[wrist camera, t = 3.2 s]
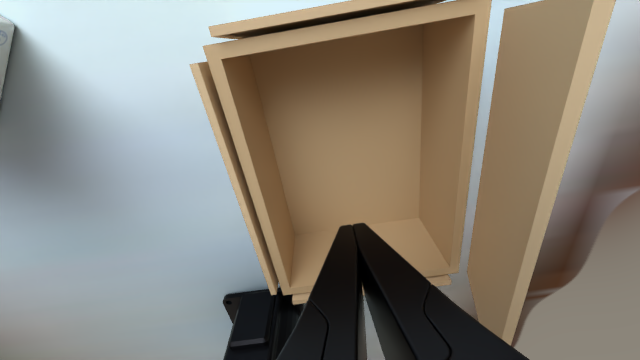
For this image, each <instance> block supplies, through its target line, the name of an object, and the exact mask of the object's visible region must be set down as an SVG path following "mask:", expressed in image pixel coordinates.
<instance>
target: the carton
mask: <svg viewBox="0 0 640 360" xmlns="http://www.w3.org/2000/svg"><path fill="white" fill-rule="evenodd" d="M443 1H446V0H351V1H346V2H340V3H335V4H329V5H324V6H318V7H313V8H308V9H302V10H297V11H291V12H286V13H280V14H275V15H269V16H264V17H258V18H253V19H248V20H242V21H237V22H231V23H226V24H220V25H215V26H209V30H210V34H211V37H218V38H229V39H239V40H233V41H228V42H222V43H217V44H211V45H206V46H203V49H204V52H205V55H206V58H207V61H208V62H202V63H195V64H190V68H191V70H192V73H193V76H194V79H195V82H196V84H197V87H198V90H199V93H200V96H201V99H202V101H203V104H204V107H205V110H206V113H207V115H208V118H209V121H210V124H211V127H212V130H213V132H214V135H215V138H216V141H217V144H218V146H219V149H220V152H221V155H222V158H223V161H224V163H225V166H226V169H227V172H228V175H229V177H230V180H231V183H232V186H233V189H234V192H235V194H236V197H237V200H238V203H239V206H240V209H241V211H242V214H243V217H244V220H245V223H246V225H247V228H248V231H249V234H250V237H251V240H252V242H253V245H254V248H255V251H256V254H257V256H258V259H259V262H260V265H261V268H262V271H263V273H264V276H265V279H266V282H267V285H268V287H269V290H270V293H271V295H276V294H277V288H278V281H279V284H280V287H281V290H282V293H283V295H291V294H293V297H292V302H293V305H294V304H302V303H306V302H307V301H308V298H309V295H310V293H311V291H312V288H313V286H314V284H315V282H316V279H317V277H318V275H319V273H320V270H321V268H322V266H323V263H324V261H325V259H326V257H327V254H328V252H329V250H330V247H331V245H332V243H333V241H334V238H335V236H336V234H337V231H338V229H339V227H340V226H342V225H349V224H351V225H353V224H356V223H365V224H366V225H368V226H369V227H370V228H371V229H372V230H373V231H374V232H375V233H376V234H378V235H379V236H380V237H381V238H382V239H383V240H384V241H385V242H386V243H388V244H389V245H390V246H391V247H392V248H393V249H394V250H395V251H396V252H398V253H399V254H400V255H401V256H402V257H403V258H404V259H405V260H406V261H408V262H409V263H410V264H411V265H412V266H413V267H414V268H415V269H416V270H418V271H419V272H420V273H421V274H422V275H423V276H424V277H425V278H426V279H428V280H429V281H430V282H431V284H433V285H434V286H443V285H451V279H450V277H449V276H448V274H453V273H458V271H459V263H460V255H461V247H462V238H463V230H464V222H465V214H466V206H467V198H468V189H469V181H470V173H471V165H472V157H473V149H474V140H475V132H476V124H477V116H478V108H479V100H480V91H481V83H482V75H483V67H484V59H485V51H486V42H487V34H488V26H489V18H490V10H491V2H492V0H456V1H450V2H445V3H440V2H443ZM437 3H439V4H437ZM362 289H363V286H362ZM363 296H365V294H364V291H363Z"/></svg>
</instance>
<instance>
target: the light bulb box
mask: <svg viewBox="0 0 640 360" xmlns="http://www.w3.org/2000/svg"><path fill="white" fill-rule="evenodd" d="M13 33H14V24H13V23H12V22H10V21H9V20H7V19H6V18H4V17H2V16H1V15H0V100H1V94H2V89H3V84H4V79H5V74H6V69H7V63H8V58H9V53H10V48H11V43H12V38H13Z"/></svg>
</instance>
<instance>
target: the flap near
mask: <svg viewBox="0 0 640 360" xmlns="http://www.w3.org/2000/svg"><path fill="white" fill-rule="evenodd" d="M615 2H616V0H543V1H539V2H534V3H529V4H525V5H520V6H515V7H511V8H506V9H505V10H504V17H503V24H502V31H501V38H500V45H499V52H498V59H497V66H496V73H495V80H494V87H493V94H492V101H491V108H490V114H489V121H488V128H487V135H486V142H485V149H484V156H483V163H482V170H481V177H480V184H479V191H478V198H477V205H476V212H475V219H474V226H473V233H472V240H471V247H470V254H469V261H468V268H467V274H468V279H469V283H470V287H471V291H472V295H473V299H474V303H475V307H476V312H477V316H478V320H479V323H481V324H482V325H483V326H485V327H486V328H487V329H489V330H490V331H491V332H493V333H494V334H495V335H497V336H498V337H500V338H501V339H502V340H504V341H505V342H506V343H508V344H509V345H510V346H511V343H512V340H513V336H514V333H515V330H516V326H517V323H518V320H519V317H520V313H521V310H522V307H523V304H524V300H525V297H526V294H527V290H528V287H529V284H530V281H531V277H532V274H533V271H534V267H535V264H536V261H537V258H538V254H539V251H540V248H541V244H542V241H543V238H544V235H545V231H546V228H547V225H548V222H549V218H550V215H551V212H552V208H553V205H554V202H555V199H556V195H557V192H558V189H559V185H560V182H561V179H562V176H563V172H564V169H565V166H566V162H567V159H568V156H569V153H570V149H571V146H572V143H573V140H574V136H575V133H576V130H577V126H578V123H579V120H580V117H581V113H582V110H583V107H584V103H585V100H586V97H587V94H588V90H589V87H590V84H591V80H592V77H593V74H594V71H595V67H596V64H597V61H598V58H599V54H600V51H601V48H602V44H603V41H604V38H605V35H606V31H607V28H608V25H609V21H610V18H611V15H612V12H613V8H614V5H615Z"/></svg>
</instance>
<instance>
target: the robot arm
mask: <svg viewBox="0 0 640 360" xmlns="http://www.w3.org/2000/svg"><path fill="white" fill-rule="evenodd" d="M362 286H363V289H362ZM363 291H364V294H365V297H366V301H367V304H368V307H369V310H370V313H371V316H372V319H373V323H374V326H375V329H376V332H377V335H378V338H379V341H380V345H381V348H382V351H383V354H384V357H385V360H529V359H528V358H527V357H525V356H524V355H522V354H521V353H520V352H518V351H517V350H516V349H514V348H513V347H512V346H510V345H509V344H508V343H506V342H505V341H504V340H502V339H501V338H500V337H498V336H497V335H495V334H494V333H493V332H491V331H490V330H489V329H487V328H486V327H485V326H483V325H482V324H481V323H479V322H478V321H477V320H475V319H474V318H473V317H471V316H470V315H469V314H468V313H466V312H465V311H464V310H462V309H461V308H460V307H458V306H457V305H456V304H455V303H454V302H453V301H451V300H450V299H449V298H448V297H447V296H446V295H444V294H443V293H442V292H441V291H440V290H439V289H438V288H437V287H435V286H434V285H433V284H431V282H430V281H429V280H428V279H426V278H425V277H424V276H423V275H422V274H421V273H420V272H419V271H418V270H416V269H415V268H414V267H413V266H412V265H411V264H410V263H409V262H408V261H406V260H405V259H404V258H403V257H402V256H401V255H400V254H399V253H398V252H396V251H395V250H394V249H393V248H392V247H391V246H390V245H389V244H388V243H386V242H385V241H384V240H383V239H382V238H381V237H380V236H379V235H378V234H376V233H375V232H374V231H373V230H372V229H371V228H370V227H369V226H368V225H366V224H365V223H356V224H353V225H351V224H349V225H342V226H340V227H339V229H338V231H337V234H336V236H335V238H334V241H333V243H332V245H331V247H330V250H329V252H328V254H327V257H326V259H325V261H324V263H323V266H322V268H321V270H320V273H319V275H318V277H317V279H316V282H315V284H314V286H313V288H312V291H311V293H310V295H309V298H308V301H307V302H306V304H305V306H304V303H302V304H294V305H293V302H292V297H293V294H291V295H283V293H282V290H281V288H277V294H276V295H271V293H270V290H269V289H266V290H258V291H251V292H243V293H235V294H228V295H226V296H225V297H224V299H223V304H224V306H225V308H226V310H227V312H228V314H229V317H230V319H231V321H232V323H233V327H232V331H231V334H230V338H229V341H228V345H227V349H226V352H225V356H224V359H223V360H367V350H366V334H365V317H364V300H363Z"/></svg>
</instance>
